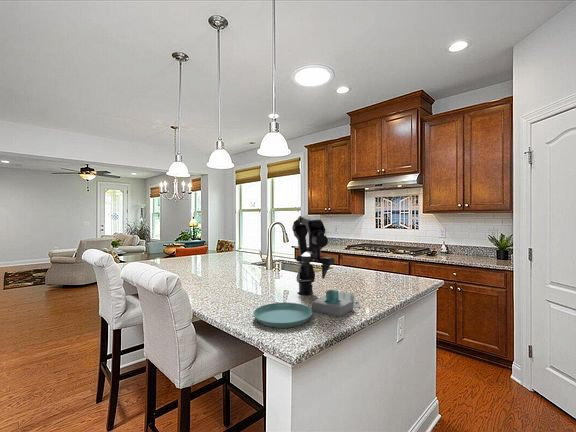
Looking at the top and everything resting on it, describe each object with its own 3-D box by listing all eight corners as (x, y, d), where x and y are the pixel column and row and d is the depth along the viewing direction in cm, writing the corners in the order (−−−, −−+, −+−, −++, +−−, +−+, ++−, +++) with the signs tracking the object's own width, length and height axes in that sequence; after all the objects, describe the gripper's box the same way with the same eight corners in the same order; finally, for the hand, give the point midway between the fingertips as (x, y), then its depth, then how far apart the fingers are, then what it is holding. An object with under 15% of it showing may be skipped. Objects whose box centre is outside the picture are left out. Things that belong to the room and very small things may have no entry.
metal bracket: (328, 287, 150) (359, 289, 147) (328, 298, 152) (359, 299, 149) (326, 304, 137) (359, 305, 134) (326, 315, 138) (360, 316, 135)
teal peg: (326, 309, 132) (325, 291, 132) (330, 307, 135) (330, 289, 135) (334, 311, 129) (333, 292, 129) (338, 308, 132) (338, 290, 132)
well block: (311, 310, 132) (311, 301, 132) (326, 304, 141) (325, 295, 141) (339, 317, 123) (339, 307, 123) (353, 309, 132) (353, 300, 132)
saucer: (241, 321, 121) (240, 313, 121) (280, 306, 140) (280, 299, 140) (286, 336, 106) (286, 326, 106) (324, 317, 124) (324, 309, 124)
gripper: (289, 245, 144) (289, 277, 144) (322, 247, 133) (322, 283, 133) (302, 243, 153) (303, 274, 153) (334, 245, 141) (335, 278, 141)
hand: (315, 277), depth 145 cm, fingers open, 9 cm apart
